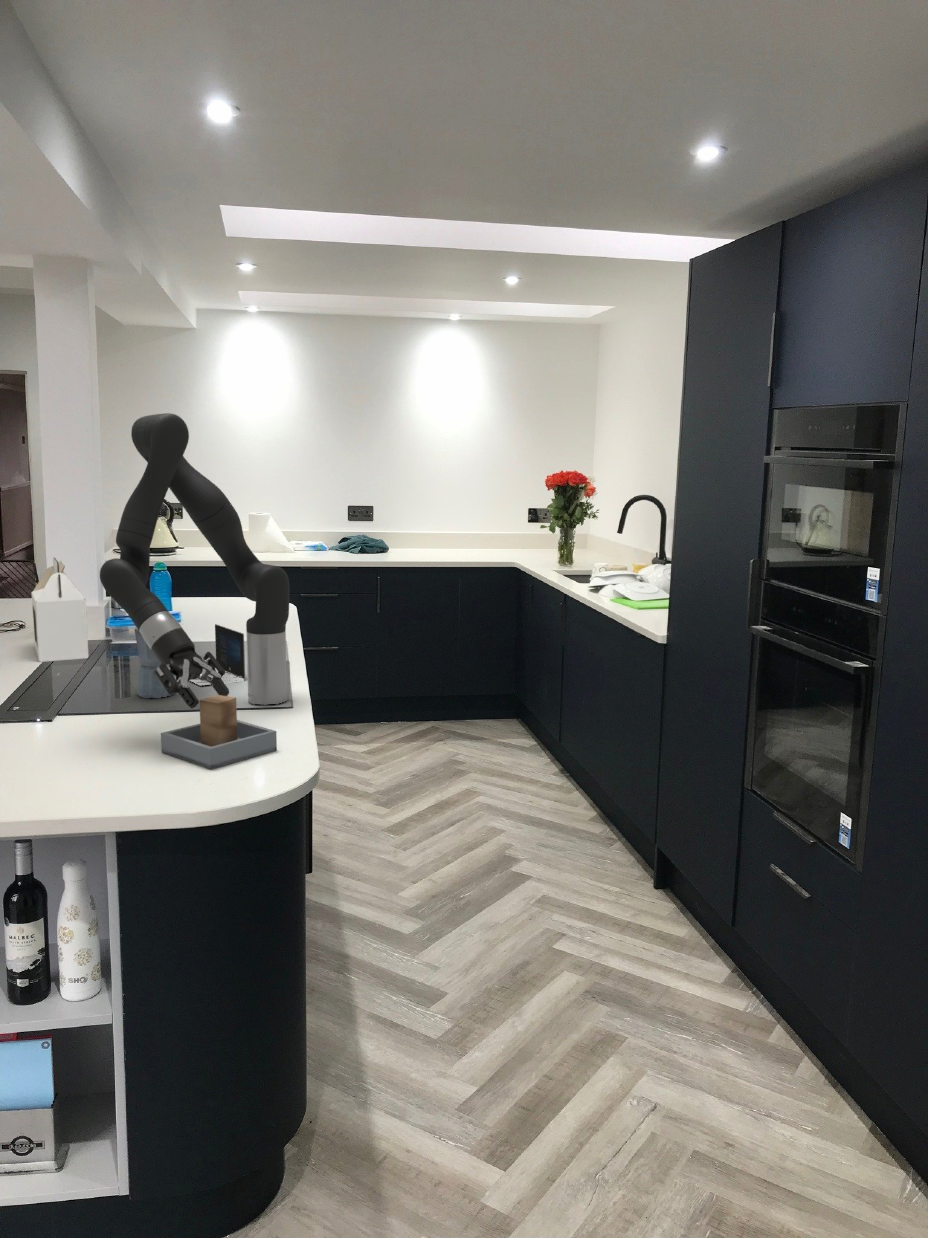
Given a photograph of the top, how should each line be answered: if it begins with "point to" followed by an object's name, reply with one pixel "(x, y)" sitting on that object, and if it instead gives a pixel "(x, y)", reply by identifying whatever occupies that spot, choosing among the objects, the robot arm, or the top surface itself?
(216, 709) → the walnut block
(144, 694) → the moka pot
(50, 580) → the gable box
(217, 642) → the laptop
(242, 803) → the top surface
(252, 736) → the box
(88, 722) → the top surface
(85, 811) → the top surface
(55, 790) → the top surface
